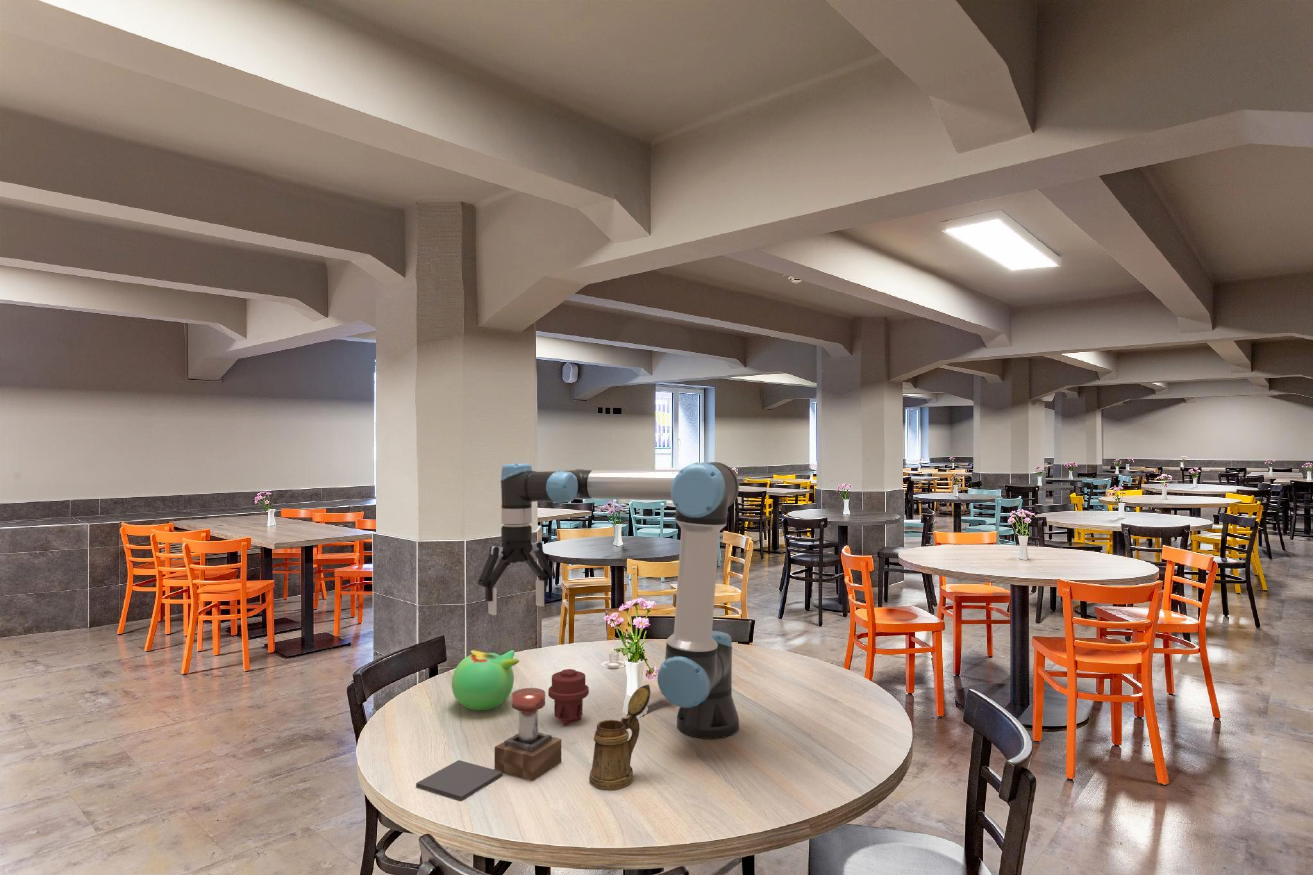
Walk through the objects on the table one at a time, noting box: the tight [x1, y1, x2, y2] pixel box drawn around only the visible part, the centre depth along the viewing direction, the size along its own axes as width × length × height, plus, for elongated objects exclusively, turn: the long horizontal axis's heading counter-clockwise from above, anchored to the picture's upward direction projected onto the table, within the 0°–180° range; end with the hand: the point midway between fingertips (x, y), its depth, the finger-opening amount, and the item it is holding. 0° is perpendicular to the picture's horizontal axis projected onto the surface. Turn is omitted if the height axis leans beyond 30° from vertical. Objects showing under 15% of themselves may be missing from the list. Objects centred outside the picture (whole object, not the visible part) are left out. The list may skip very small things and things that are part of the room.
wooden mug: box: [588, 684, 651, 791], centre depth 149 cm, size 9×14×18 cm, turn 120°
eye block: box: [493, 731, 562, 782], centre depth 153 cm, size 10×10×6 cm
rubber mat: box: [415, 759, 504, 802], centre depth 146 cm, size 12×12×1 cm
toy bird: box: [451, 649, 520, 711], centre depth 189 cm, size 18×17×15 cm
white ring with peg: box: [601, 650, 625, 669], centre depth 225 cm, size 9×8×4 cm
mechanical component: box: [547, 668, 590, 727], centre depth 179 cm, size 12×10×10 cm
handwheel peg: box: [511, 687, 546, 745], centre depth 153 cm, size 7×7×16 cm
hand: (516, 610), depth 180 cm, fingers open, 13 cm apart
